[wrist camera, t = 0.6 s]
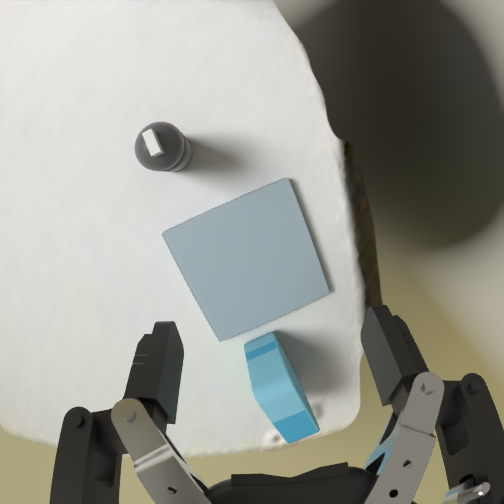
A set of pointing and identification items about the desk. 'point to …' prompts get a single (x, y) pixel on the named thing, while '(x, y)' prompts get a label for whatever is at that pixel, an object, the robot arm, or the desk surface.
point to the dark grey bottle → (162, 148)
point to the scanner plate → (248, 259)
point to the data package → (279, 389)
